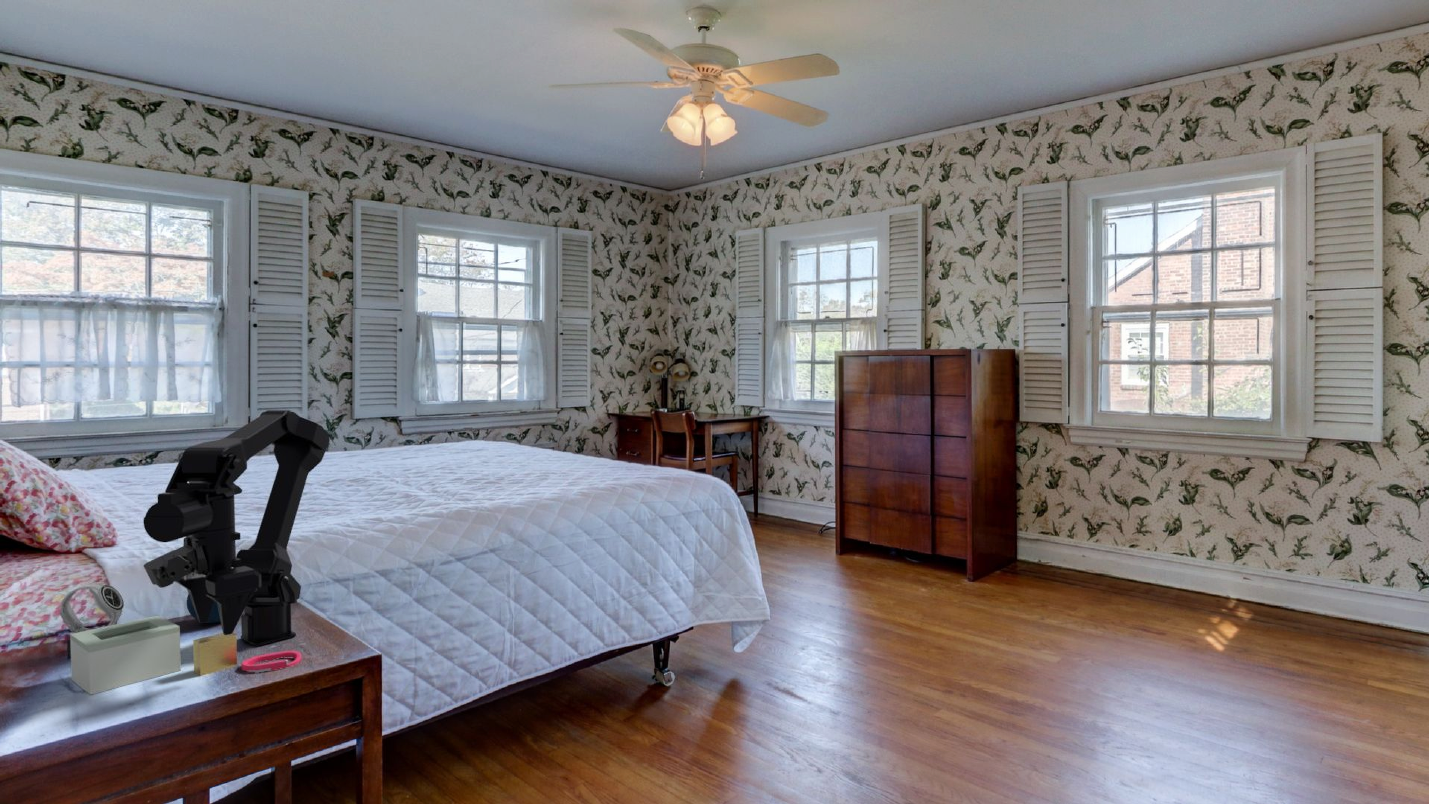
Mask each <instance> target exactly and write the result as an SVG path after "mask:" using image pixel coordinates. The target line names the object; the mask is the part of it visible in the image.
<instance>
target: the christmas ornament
mask: <svg viewBox="0 0 1429 804" xmlns="http://www.w3.org/2000/svg"><path fill="white" fill-rule="evenodd" d="M186 597H187V598H186V607H187V610H188V612H189V614H190V615H191V617H193V618H194V619H195V620H197V621H198V618H197V615H196V612H195V609H194V606H193V604H192V601H191V598H190V596H189V593H188V594H187V596H186ZM216 622H217V623H221V621H220V616H219V610H218V605H217V602H216V601H214V604H213V607H212V610H211V613H210V616H209V619H208V621H207V622H203V624H204V623H205V624H217V623H216Z"/></svg>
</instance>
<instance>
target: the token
mask: <svg viewBox="0 0 1429 804" xmlns="http://www.w3.org/2000/svg"><path fill="white" fill-rule="evenodd" d="M237 639H238V638H237V633H234V632H233V633H232V634H229V635H224V634H223V632H221V633H216V634H213V635H208V636H205V637H204V636H203V637H201V638H197V639H196V638H195V639H193V640H192V643H193V644H192V645H193V647H192V650H193V673H194V674H196V675H198V676H199V677H202V676H207V675H210V674H214V673H216V672H220V671H224V670H228V669H231V668H235V667H238V648H237V647H238V643H237Z"/></svg>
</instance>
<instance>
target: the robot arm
mask: <svg viewBox="0 0 1429 804" xmlns="http://www.w3.org/2000/svg"><path fill="white" fill-rule="evenodd" d="M330 442H331V441H330V435H329V432H328V431H327V430H326V429H325V428H324V427H323V426H322V425H321V424H319V423H317V422H315V421H312V420H309V419H308V418H304V417H302V416H300V415H299V414H297V412H294V411H292V410H287V409H267V410H266V411H262V412H261V413H260V415H259V416H258V417H256V418H254V419H253V420H252V421H250V422H248V423H247V424H245V425H243V426H242V427H240V428H239V429H237V430H235V431H234V432H231V433H230V434H228V435H227V436H225V437H223V438H220V439H216V440H211V441H210V440H209V441H204V442H200V443H196V444H195V445H192V446H189V447H188V448H186V449H185V450H184V451H183V453H182V454H181V457H180V459H179V461H178V464H177V465H176V466H175V469H174V471H173V474H172V476H171V478H170V480H169V482H168V484H167V486H166V488H165V492H162V493H158V494H157V502H156V503H154V504H152V505H151V506H150V507H149V508H148V510H147V511H146V513H145V516H144V518H143V522H142V523H143V528H144V530H145V532H146V533H147V535H148V536H149V538H151V539H153V540H154V541H155V542H159V543H169V542H173V541H176V540H179V539H183V546H181V547H178V548H177V549H174V550H171V551H169V552H166V553H164V554H162V555H160V556H158V557H156V558H153V559H152V560H150V561H147V562H146V563H144V564H143V569H144V570H145V572H146V573H147V576H148V578H149V580H150V582H151V584H152V585H156V586H158V588H161V589H163V588H167V587H170V586H171V585H173V584H174V583H177V584H178V585H179V586H182V587H183V588H185V589H186V591H187V593H188V594H189V596H190V598H191V601H192V604H193V606H194V609H195V612H196V615H197V618H198V620H197V621H198V622H199V623H200V624H204V622H207V621H208V619H209V616H210V613H211V610H212V607H213V604H214V601H216V602H217V605H218V610H219V616H220V625H221V629H222V633H223V634H224V635H229V634H232V633H234V631H235V629H236V627H237V625H238V623H239V620H240V619H241V621H240V622H241V624H240V625H241V636H240V639H241V640H243V641H245V642H246V643H249V644H251V645H252V646H255V647H259V646H263V645H267V644H271V643H274V642H278V641H282V640H283V641H284V640H285V639H290V638H293V637H294V638H295V637H296V636H297V632H295V631H293V630H292V604H296V603H297V602H298V600H299V599H300V596H301V591H302V590H301V589H302V585H300V583H299V582H298V581H297V579H296V578H295V577H294V576H293V575H292V574H291V572H292V568H293V564H292V561H291V558H290V555H289V553H288V551H287V548H288V545H289V541H290V538H291V534H292V532H293V531H292V530H293V527H294V523H295V521H296V518H297V513H298V510H299V507H300V503H301V499H302V496H303V493H304V489H305V485H306V482H307V478H308V475H309V473H311V472H312V471H313V470H314V469H315V468H316V467H317V466H318V465H319V464H320V463H321V462H322V461H323V458H324V456H325V453H326V451H327V449H328V447H329V445H330ZM271 445H272V446H273V454H274V457H275V461H276V463H277V465H278V467H277V470H276V474H275V476H274V481H273V483H272V487H271V491H270V494H269V497H268V500H267V503H266V505H265V509H264V512H263V516H262V519H261V522H260V525H259V528H258V532H257V534H256V538H255V541H254V543H253V544H252V545H251V546H249V548H248V549H240V550H238V552H237V554H236V549H237V548H236V547H237V546H236V541H239V540H241V532H238V531H236V514H235V513H236V511H235V495H239V494H242V493H243V488H241V487H240V486H238V485H237V484H235V482H236V481H237V480H238V479H239V478H240V477H241V475H243V474H244V473H245V472H246V471H247V469H248V463H247V462H248V461H249V460H250V459H251V458H253V457H254V456H256V455H257V454H259V453H260V452H261V451H263V450H265V449H266V448H268V447H269V446H271ZM243 612H244V613H243Z"/></svg>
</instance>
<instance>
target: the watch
mask: <svg viewBox="0 0 1429 804" xmlns="http://www.w3.org/2000/svg"><path fill="white" fill-rule="evenodd" d="M81 590H88V591H89V593H90V594H91V595H92V596H93V600H94V603H95V604H96V606H97V607H98V609H100V611H102V612H104V613H105V614H107V616H108V617H109V619H111V620H110V622H109V623H108V624H107V626H111V625H115V624H116V623H117V622H118V621H119V619H120V617H121V616H122V612H123V609H124V607H125V604H124V602H125V601H124V599H123V596H122V595H121V594H120V592H119V591H118V590H117V589H116V588H115V587H114V586H111V585H109V584H103V583H97V582H96V583H88V584H84V585H82V586H79V587H77V588H75V589H73V590H72V591H70V592H69V593H67V594H66V595H65V596H64V598H63V599H62V600H61V603H60V610H59V614H60V617H61V619H62V621H63V623H64V624H65V626H66V627H67V628H68V629H69V630H70V631H71V632H72V633H78V632H83V631H87V630H92V629H97V628H98V627H90V628H87V627H85V626H83V622H81V620H80V619H79V618H78V615H76V613H75V611H74V609H73V608H72V604H71V601H72V600H71V599H72V598H73V596H74V595H75V594H76V593H77V592H78V591H81ZM66 651H67V652H66V653H67V660H71V643H70V638H68V639H66Z"/></svg>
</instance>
